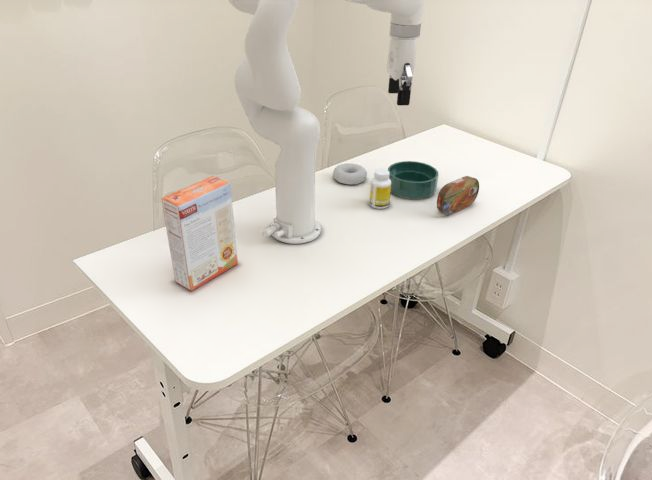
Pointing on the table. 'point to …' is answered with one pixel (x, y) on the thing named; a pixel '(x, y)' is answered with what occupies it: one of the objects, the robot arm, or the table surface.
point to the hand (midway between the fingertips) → (398, 98)
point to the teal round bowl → (413, 179)
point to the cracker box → (200, 231)
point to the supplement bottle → (380, 189)
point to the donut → (349, 173)
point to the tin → (457, 195)
